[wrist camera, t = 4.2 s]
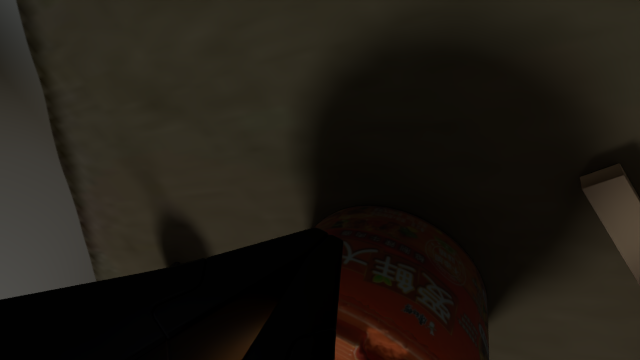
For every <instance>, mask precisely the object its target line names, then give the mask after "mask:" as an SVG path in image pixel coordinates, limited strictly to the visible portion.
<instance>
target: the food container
mask: <svg viewBox="0 0 640 360" xmlns="http://www.w3.org/2000/svg"><path fill="white" fill-rule="evenodd" d="M315 227H317V228H319V229H321V230H323V231H325V232H327V233H328V234H329V235H334V236H336V237H338V238H340V239H342V240H343V253H342V266H341V278H340V290H339V303H338V315H337V327H336V343H335V360H489V338H488V306H487V294H486V289H485V286H484V283H483V280H482V278H481V275H480V273H479V271H478V269H477V267H476V265H475V264H474V262H473V260H472V259H471V258H470V256H469V255H468V254H467V253H466V252H465V250H464V249H463V248H462V247H461V246H460V245H459V244H458V243H457V242H456V241H454V240H453V239H452V238H451V237H449V236H448V235H447V234H445V233H444V232H443V231H441V230H440V229H439V228H437V227H435V226H434V225H432V224H430V223H429V222H427V221H425V220H423V219H421V218H419V217H417V216H414V215H412V214H409V213H407V212H404V211H400V210H396V209H392V208H388V207H382V206H354V207H349V208H346V209H342V210H340V211H337V212H335V213H333V214H331V215H329V216H328V217H326V218H325V219H323V220H322V221H321V222H320V223H318V224H317V225H316V226H315ZM315 227H314V228H315Z"/></svg>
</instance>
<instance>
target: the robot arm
mask: <svg viewBox="0 0 640 360" xmlns="http://www.w3.org/2000/svg"><path fill="white" fill-rule="evenodd" d="M342 253H343V240H342V239H340V238H338V237H336V236H334V235H329V234H328V233H327V232H325V231H323V230H321V229H319V228H317V227H315V228H310V229H307V230H303V231H300V232H296V233H293V234H289V235H286V236H282V237H279V238H275V239H271V240H268V241H264V242H261V243H257V244H254V245H250V246H247V247H243V248H239V249H236V250H232V251H229V252H225V253H222V254H218V255H215V256H211V257H208V258H206V259H205V258H202V259H199V260H195V261H191V262H188V263H184V264H180V265H176V266H172V267H168V268H163V269H158V270H154V271H149V272H144V273H139V274H134V275H128V276H123V277H118V278H112V279H107V280H102V281H97V282H91V283H86V284H81V285H75V286H70V287H65V288H60V289H55V290H49V291H44V292H38V293H34V294H28V295H23V296H18V297H12V298H8V299H1V300H0V360H335V343H336V327H337V315H338V303H339V290H340V278H341V266H342Z"/></svg>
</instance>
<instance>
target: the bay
mask: <svg viewBox="0 0 640 360" xmlns="http://www.w3.org/2000/svg"><path fill="white" fill-rule="evenodd" d="M580 181H581V187H582V190H583V192H584V194H585V195H586V197H587V199H588V200H589V202H590V204H591V205H592V207H593V208H594V210H595V212H596V213H597V215H598V217H599V218H600V220H601V222H602V223H603V225H604V227H605V228H606V230H607V232H608V233H609V235H610V237H611V238H612V240H613V242H614V243H615V245H616V247H617V248H618V250H619V252H620V253H621V255H622V257H623V258H624V260H625V262H626V263H627V265H628V267H629V268H630V270H631V272H632V273H633V275H634V277H635V278H636V280H637V282H638V283H639V285H640V198H639V196H638V194H637V193H636V191H635V189H634V187H633V186H632V184H631V182H630V180H629V179H628V177H627V175H626V173H625V172H624V170H623V168H622V167H621V165H620V163H619V164H616V165H613V166H610V167H607V168H604V169H602V170H599V171H596V172H593V173H590V174H587V175H584V176H581V177H580Z"/></svg>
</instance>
